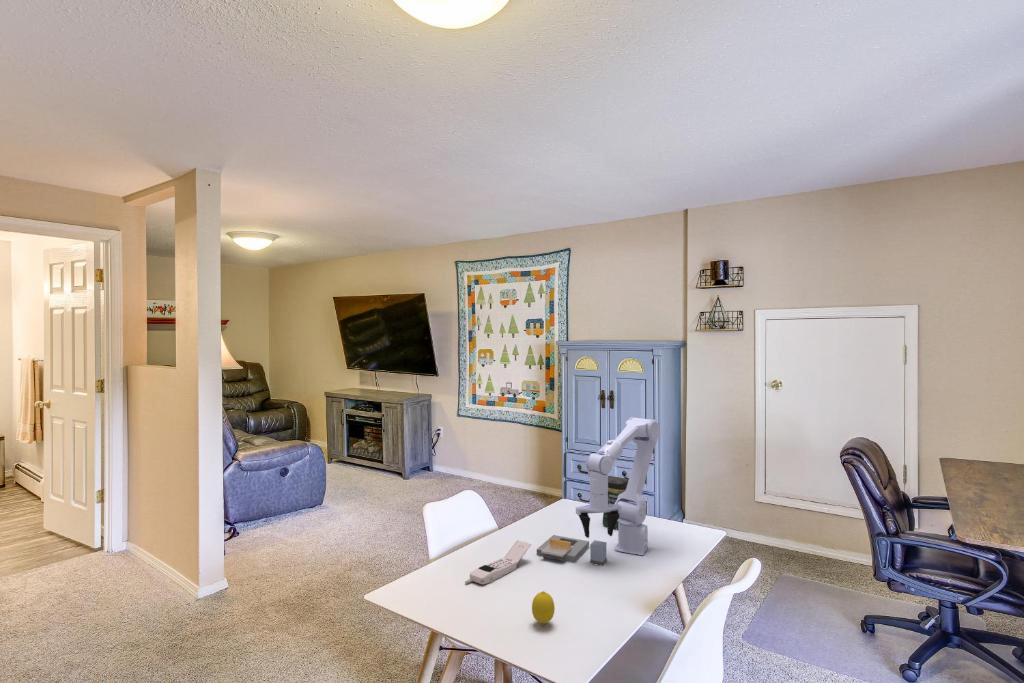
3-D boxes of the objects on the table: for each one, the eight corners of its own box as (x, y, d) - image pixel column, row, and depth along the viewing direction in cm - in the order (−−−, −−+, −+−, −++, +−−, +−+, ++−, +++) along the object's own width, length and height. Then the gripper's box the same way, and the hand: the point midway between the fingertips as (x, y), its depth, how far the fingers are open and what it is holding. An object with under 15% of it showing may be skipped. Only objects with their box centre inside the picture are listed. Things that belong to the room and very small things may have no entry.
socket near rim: (587, 548, 178) (587, 542, 178) (581, 555, 173) (581, 548, 173) (577, 546, 180) (577, 540, 180) (571, 553, 174) (571, 547, 174)
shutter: (571, 548, 172) (571, 542, 172) (563, 557, 165) (563, 550, 165) (550, 544, 175) (550, 538, 175) (541, 552, 168) (541, 546, 168)
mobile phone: (532, 543, 167) (478, 568, 148) (532, 562, 167) (478, 590, 148) (517, 539, 171) (463, 563, 152) (517, 557, 171) (463, 584, 152)
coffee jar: (599, 526, 200) (599, 477, 200) (608, 520, 206) (608, 473, 206) (623, 532, 194) (624, 481, 194) (632, 525, 201) (632, 476, 201)
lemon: (553, 618, 133) (553, 586, 133) (555, 630, 127) (555, 596, 127) (531, 618, 133) (531, 586, 133) (532, 630, 127) (532, 597, 127)
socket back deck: (581, 555, 173) (581, 548, 173) (574, 562, 166) (574, 556, 166) (545, 548, 178) (545, 542, 178) (536, 555, 172) (536, 549, 172)
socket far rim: (561, 543, 182) (561, 538, 182) (554, 549, 177) (554, 543, 177) (551, 542, 184) (551, 536, 184) (545, 548, 178) (545, 542, 178)
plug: (606, 561, 168) (606, 542, 168) (602, 566, 164) (602, 546, 164) (594, 558, 170) (594, 540, 170) (590, 563, 166) (590, 544, 166)
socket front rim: (589, 547, 179) (589, 541, 179) (587, 548, 178) (587, 542, 178) (553, 540, 185) (553, 534, 185) (551, 542, 184) (551, 536, 184)
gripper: (615, 488, 173) (615, 529, 172) (572, 490, 170) (572, 532, 169) (624, 494, 166) (624, 537, 166) (579, 496, 163) (579, 540, 163)
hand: (598, 535), depth 167 cm, fingers open, 7 cm apart
